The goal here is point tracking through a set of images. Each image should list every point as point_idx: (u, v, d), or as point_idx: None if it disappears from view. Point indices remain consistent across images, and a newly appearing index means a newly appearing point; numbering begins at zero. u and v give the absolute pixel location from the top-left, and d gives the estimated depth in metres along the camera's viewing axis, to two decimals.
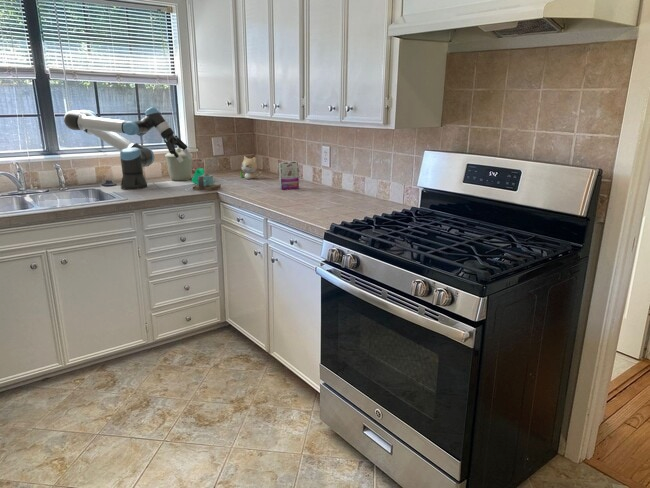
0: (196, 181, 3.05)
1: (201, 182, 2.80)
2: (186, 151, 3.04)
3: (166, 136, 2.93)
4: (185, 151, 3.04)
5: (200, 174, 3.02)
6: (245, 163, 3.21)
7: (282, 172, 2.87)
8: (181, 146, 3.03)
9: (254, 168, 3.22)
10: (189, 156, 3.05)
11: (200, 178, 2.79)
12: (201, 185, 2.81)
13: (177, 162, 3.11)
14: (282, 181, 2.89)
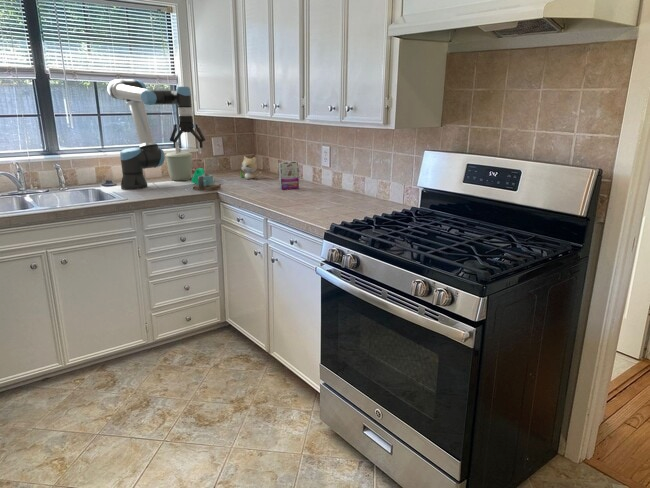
0: (196, 181, 3.05)
1: (201, 182, 2.80)
2: None
3: None
4: None
5: (200, 174, 3.02)
6: (245, 163, 3.21)
7: (282, 172, 2.87)
8: None
9: (254, 168, 3.22)
10: None
11: (200, 178, 2.79)
12: (201, 185, 2.81)
13: (177, 162, 3.11)
14: (282, 181, 2.89)
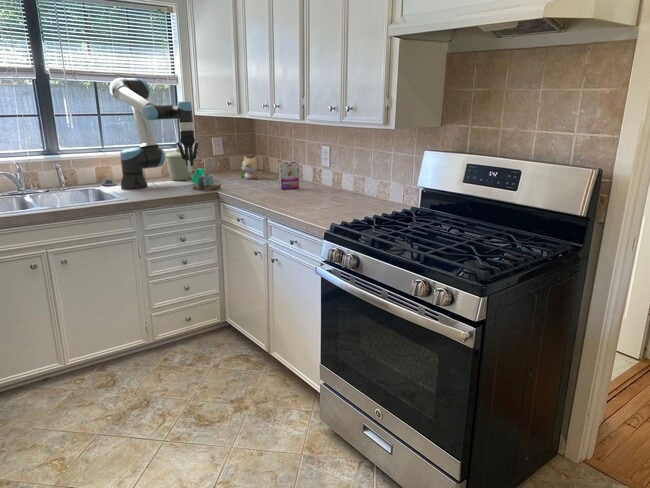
0: (195, 181, 3.05)
1: (201, 182, 2.80)
2: None
3: None
4: None
5: (199, 174, 3.02)
6: (245, 163, 3.21)
7: (282, 172, 2.87)
8: None
9: (254, 168, 3.22)
10: None
11: (200, 178, 2.79)
12: (201, 185, 2.81)
13: (177, 162, 3.11)
14: (282, 181, 2.89)
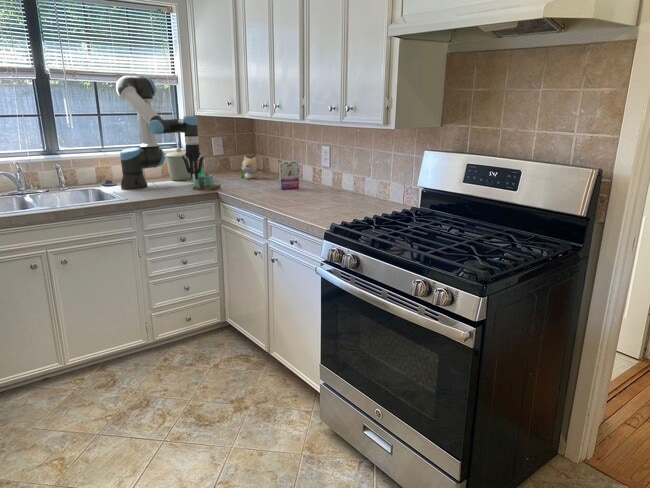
0: None
1: (201, 182, 2.80)
2: None
3: None
4: None
5: (199, 174, 3.01)
6: (245, 163, 3.21)
7: (282, 172, 2.87)
8: None
9: (254, 168, 3.22)
10: None
11: (201, 178, 2.79)
12: (202, 185, 2.81)
13: (177, 162, 3.11)
14: (282, 181, 2.89)
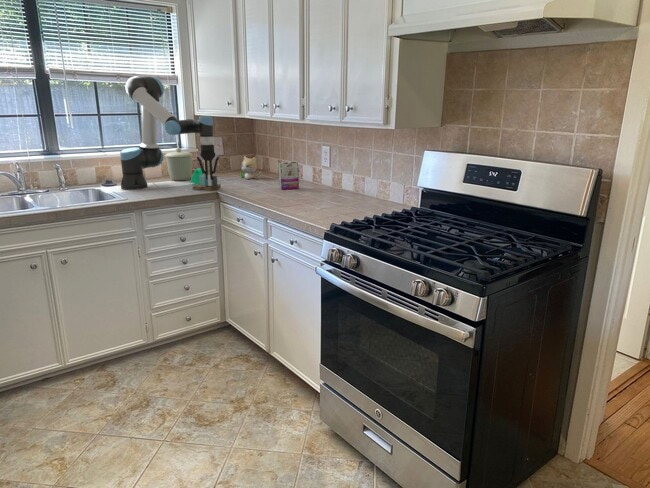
0: (195, 181, 3.04)
1: (216, 182, 2.83)
2: None
3: None
4: None
5: (199, 174, 3.01)
6: (245, 163, 3.21)
7: (282, 172, 2.87)
8: None
9: (254, 168, 3.22)
10: None
11: (216, 177, 2.82)
12: (216, 184, 2.84)
13: (177, 162, 3.11)
14: (282, 181, 2.89)
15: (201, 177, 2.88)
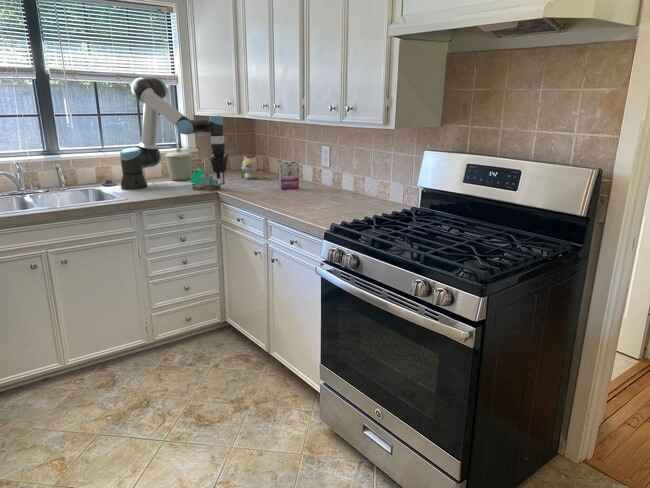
0: (194, 181, 3.04)
1: None
2: None
3: (212, 152, 2.77)
4: None
5: (198, 174, 3.01)
6: (245, 163, 3.21)
7: (282, 172, 2.87)
8: (220, 166, 2.84)
9: (254, 168, 3.22)
10: None
11: None
12: None
13: (177, 162, 3.11)
14: (282, 181, 2.89)
15: (204, 177, 2.87)
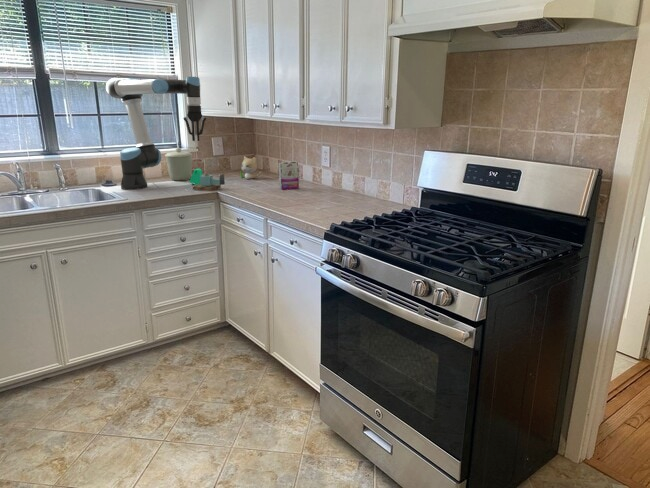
0: (194, 181, 3.04)
1: None
2: None
3: None
4: None
5: (198, 174, 3.01)
6: (245, 163, 3.21)
7: (282, 172, 2.87)
8: (196, 129, 2.81)
9: (254, 168, 3.22)
10: None
11: None
12: None
13: (177, 162, 3.11)
14: (282, 181, 2.89)
15: (204, 177, 2.87)
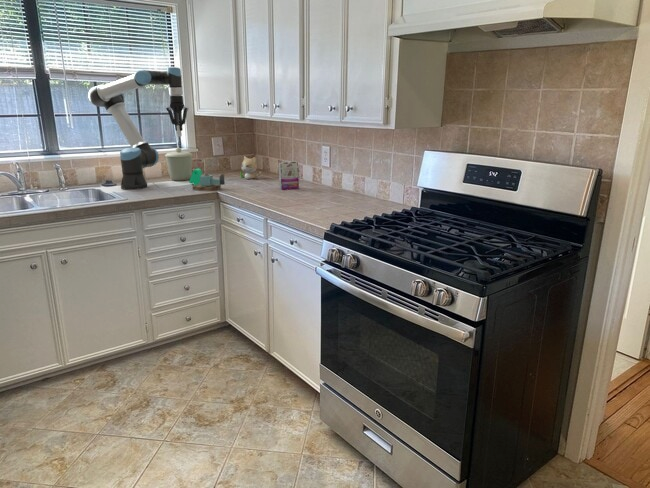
0: (193, 181, 3.04)
1: None
2: None
3: None
4: None
5: (197, 174, 3.00)
6: (245, 163, 3.21)
7: (282, 172, 2.87)
8: None
9: (254, 168, 3.22)
10: None
11: None
12: None
13: (177, 162, 3.11)
14: (282, 181, 2.89)
15: (204, 177, 2.87)
